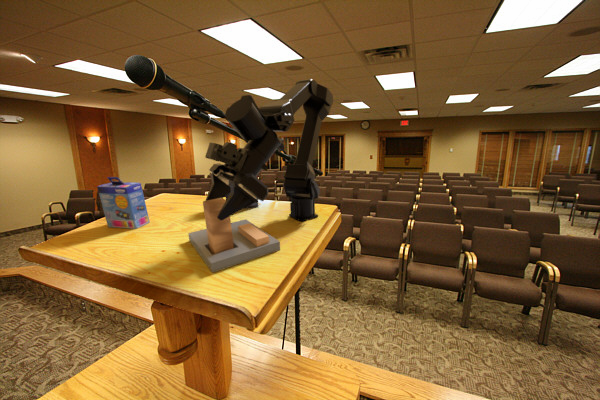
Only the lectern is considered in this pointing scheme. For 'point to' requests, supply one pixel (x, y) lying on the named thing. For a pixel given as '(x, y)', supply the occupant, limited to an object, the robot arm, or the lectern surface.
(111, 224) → the ink cartridge box
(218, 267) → the baseplate
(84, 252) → the lectern surface
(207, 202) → the ochre column
